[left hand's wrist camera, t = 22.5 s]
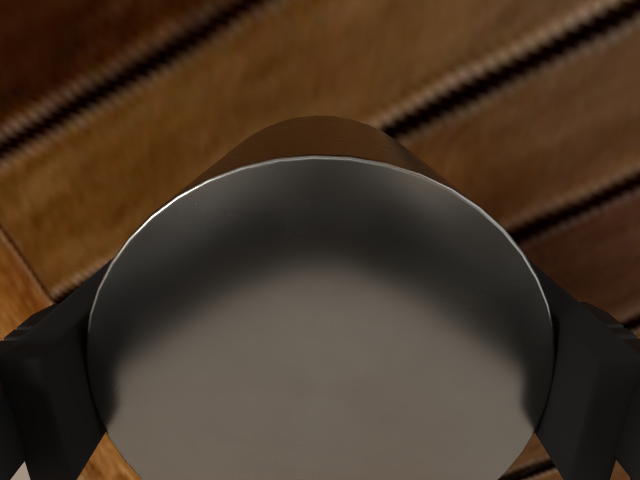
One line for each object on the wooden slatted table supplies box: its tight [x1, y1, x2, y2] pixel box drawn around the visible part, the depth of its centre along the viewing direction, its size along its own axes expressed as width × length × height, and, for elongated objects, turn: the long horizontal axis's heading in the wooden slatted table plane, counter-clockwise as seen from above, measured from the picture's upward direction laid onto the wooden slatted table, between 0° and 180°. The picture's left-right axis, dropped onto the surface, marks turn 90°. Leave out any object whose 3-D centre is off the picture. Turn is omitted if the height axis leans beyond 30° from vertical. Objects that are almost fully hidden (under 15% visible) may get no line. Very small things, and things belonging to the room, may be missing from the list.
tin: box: [86, 116, 555, 480], centre depth 12 cm, size 9×9×8 cm
